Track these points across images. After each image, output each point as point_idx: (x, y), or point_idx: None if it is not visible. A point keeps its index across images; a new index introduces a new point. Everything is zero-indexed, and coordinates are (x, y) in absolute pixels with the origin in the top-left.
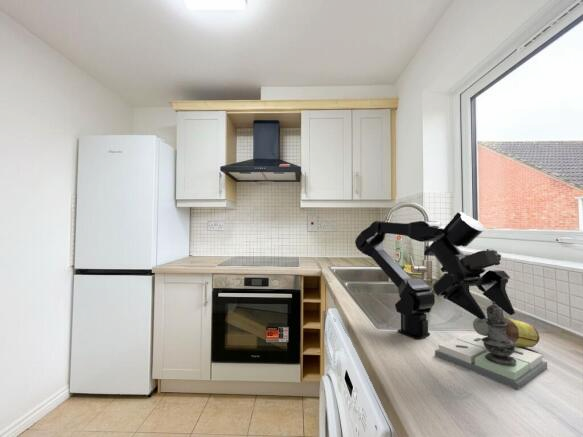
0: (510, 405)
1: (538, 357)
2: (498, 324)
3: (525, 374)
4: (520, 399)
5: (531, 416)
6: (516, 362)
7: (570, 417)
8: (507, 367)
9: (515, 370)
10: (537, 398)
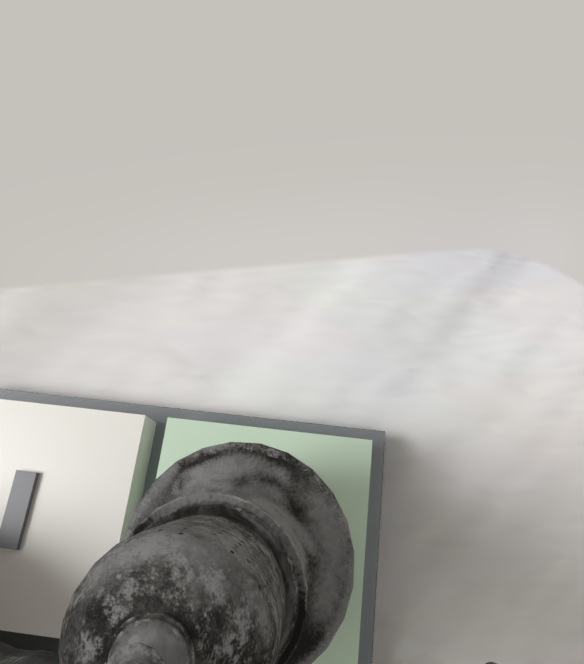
0: (556, 426)
1: (12, 400)
2: (281, 550)
3: None
4: (462, 410)
5: (563, 355)
6: None
7: (435, 267)
8: (331, 485)
9: (339, 444)
10: (386, 366)
